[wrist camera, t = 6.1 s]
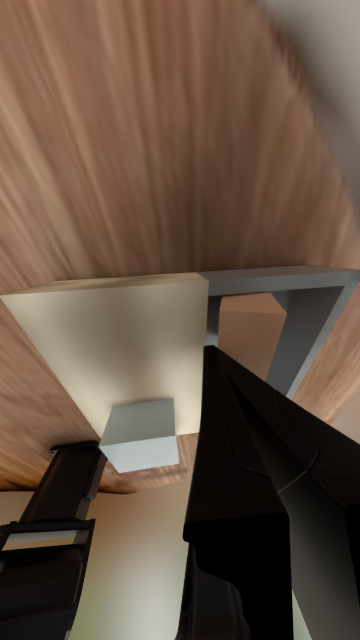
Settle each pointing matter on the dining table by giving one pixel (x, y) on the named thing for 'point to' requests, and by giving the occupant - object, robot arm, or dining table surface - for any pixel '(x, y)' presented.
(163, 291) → the board
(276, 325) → the tile terracotta
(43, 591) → the robot arm
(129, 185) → the dining table surface
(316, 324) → the tray
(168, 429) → the grey sharp-edged block
